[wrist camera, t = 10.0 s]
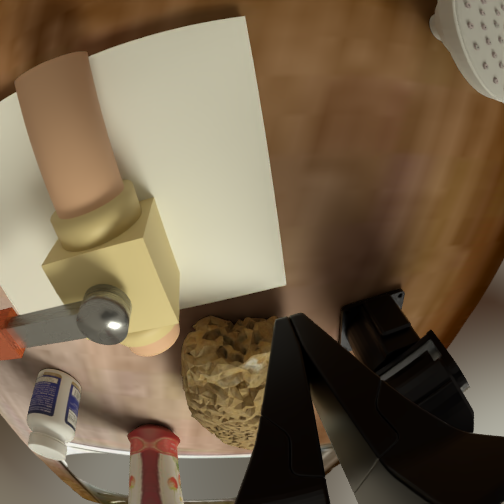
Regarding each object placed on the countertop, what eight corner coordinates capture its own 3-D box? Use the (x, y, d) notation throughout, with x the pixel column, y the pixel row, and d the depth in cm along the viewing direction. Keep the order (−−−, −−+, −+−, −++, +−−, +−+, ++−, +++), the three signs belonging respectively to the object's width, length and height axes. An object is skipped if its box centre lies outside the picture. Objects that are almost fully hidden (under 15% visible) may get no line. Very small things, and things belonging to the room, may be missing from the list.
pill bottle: (33, 379, 26) (17, 446, 19) (45, 360, 25) (25, 435, 17) (73, 399, 29) (63, 466, 21) (89, 383, 27) (78, 457, 20)
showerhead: (468, -78, 5) (555, 28, 8) (399, -56, 11) (487, 20, 14) (441, 37, 9) (532, 134, 12) (364, 40, 15) (461, 108, 18)
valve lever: (119, 276, 14) (112, 304, 12) (140, 314, 15) (136, 343, 14) (-33, 316, 13) (-45, 337, 12) (-12, 343, 15) (-22, 364, 13)
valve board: (283, 276, 24) (305, 332, 19) (38, 328, 23) (20, 379, 18) (242, 19, 14) (263, -5, 9) (-54, 142, 13) (-104, 171, 8)
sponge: (165, 306, 25) (195, 443, 32) (180, 365, 18) (213, 495, 25) (306, 279, 29) (294, 416, 36) (356, 320, 22) (323, 459, 29)
